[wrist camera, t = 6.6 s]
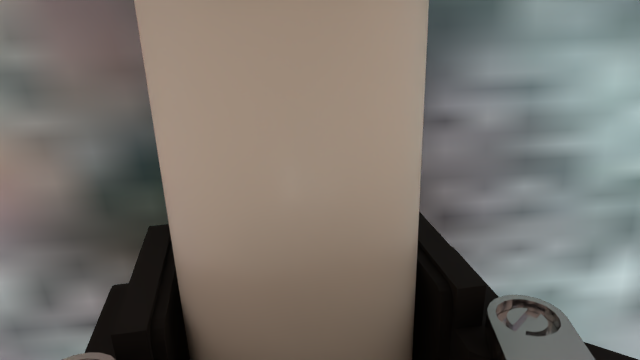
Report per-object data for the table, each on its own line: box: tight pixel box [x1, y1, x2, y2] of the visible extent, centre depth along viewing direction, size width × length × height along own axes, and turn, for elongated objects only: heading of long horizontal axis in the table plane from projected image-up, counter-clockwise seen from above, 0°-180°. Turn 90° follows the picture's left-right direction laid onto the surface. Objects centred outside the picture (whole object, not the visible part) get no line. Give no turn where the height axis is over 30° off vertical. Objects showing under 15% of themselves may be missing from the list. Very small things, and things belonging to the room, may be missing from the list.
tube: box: [134, 0, 429, 360], centre depth 8 cm, size 15×5×5 cm, turn 2°
